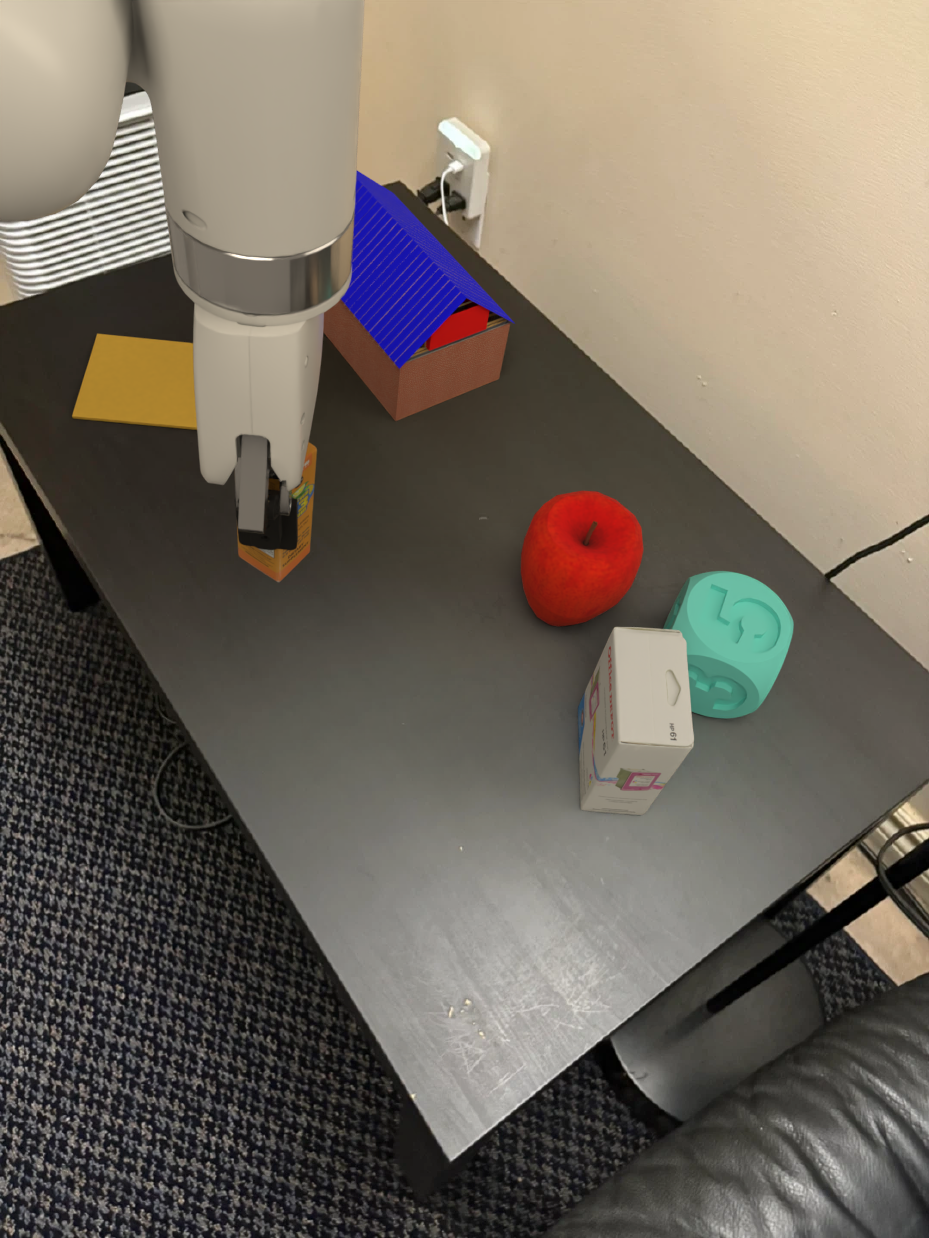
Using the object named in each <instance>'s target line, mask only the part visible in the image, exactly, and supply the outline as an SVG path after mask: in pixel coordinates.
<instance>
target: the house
mask: <svg viewBox="0 0 929 1238" xmlns="http://www.w3.org/2000/svg"><path fill="white" fill-rule="evenodd" d="M511 323H512V324H515V321H514V320H512V318H511V317H510V316H509V315H508V314H507V313H506V312H505V311H504V310H503V309H502V308H501V306H499V304H498V303H497V302H496V301H495V300H494V299H493V298H492V296H490V295H489V294H488V292H487V291H486V290H485V289H484V288H483V287H482V286H481V285H480V284H479V283H478V282H477V281H476V279H474V278H473V276H472V275H471V274H470V273H469V272H468V271H467V270H466V269H465V268H464V267H463V266H462V264H460V262H459V261H458V260H456V258H455V257H454V256H453V255H452V254H451V253H450V252H449V251H448V250H447V249H446V247H444V246H443V244H442V243H441V242H440V241H439V240H438V239H437V238H436V237H435V236H434V234H432V232H431V231H430V230H429V229H428V228H427V227H426V226H425V225H424V224H423V223H422V222H421V221H420V220H419V219H418V218H417V216H416V215H415V214H414V213H413V212H412V211H411V210H410V209H409V208H408V207H407V206H406V205H405V204H404V202H402V201H401V199H400V198H399V197H398V196H397V195H396V193H394V192H393V191H391V190H389V189H388V188H386V187H385V186H383V185H382V184H380V183H378V182H376V181H375V180H374V179H371V178H370V177H369V176H367V175H365V174H364V173H362V172H360V171H359V170H357V172H356V195H355V217H354V238H353V259H352V276H351V281H350V284H349V287H348V289H347V291H346V293H345V295H344V296H343V297H342V298H341V299H340V301H339V302H338V303H337V304H336V305H334V306H333V307H332V308H330V309H329V310H327V311H326V312H324V327H323V335H325V336H326V337H327V339H328V340H329V341H330V343H332V346H334V348H335V349H336V350H337V351H338V352H339V354H340V355H341V356H342V357H343V359H344V360H345V361H346V363H348V364H349V366H350V368H352V369H353V371H354V372H355V373H356V375H357V376H358V377H359V379H361V381H362V382H363V384H365V385H366V387H367V388H368V390H369V391H370V392H371V393H372V394H373V396H374V397H375V398H376V399H377V400H378V402H380V404H381V406H382V407H383V408H384V409H385V411H386V412H387V413H388V414H389V415H390V416H391V418H392V419H393V420H394V421H395V422H397V421H400V420H403V419H405V418H407V417H410V416H412V415H415V414H417V413H420V412H423V411H424V410H427V409H429V408H431V407H434V406H438V405H439V404H442V403H444V402H447V401H449V400H451V399H454V398H456V397H459V396H461V395H463V394H466V393H469V392H470V391H473V390H477V389H478V388H481V387H483V386H485V385H488V384H490V383H493V382H496V381H498V380H500V376H501V372H502V366H503V362H504V356H505V352H506V347H507V342H508V337H509V334H510V333H509V332H510V328H511Z"/></svg>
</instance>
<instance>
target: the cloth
mask: <svg viewBox="0 0 929 1238" xmlns="http://www.w3.org/2000/svg"><path fill="white" fill-rule="evenodd" d="M71 417H72V419H75V420H85V421H95V422H107V423H121V424H128V425H129V424H130V425H139V426H149V427H159V428H160V427H162V428H170V429H171V428H173V429H183V430H194V431H195V430H196V431H197V420H196V407H195V391H194V367H193V342H186V341H185V342H184V341H175V340H166V339H154V338H147V337H145V338H144V337H137V336H136V337H134V336H124V335H114V334H104V333H96V336H95V340H94V343H93V346H92V349H91V352H90V356H89V360H88V363H87V366H86V369H85V372H84V376H83V378H82V382H81V385H80V389H79V391H78V395H77V398H76V401H75V405H74V408H73V411H72V414H71Z"/></svg>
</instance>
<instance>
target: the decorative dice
mask: <svg viewBox="0 0 929 1238" xmlns="http://www.w3.org/2000/svg"><path fill="white" fill-rule="evenodd" d="M794 627H795V626H794V620H793V616H792V614H791V612H790V611H789V609H788V608H787V605H786V604H785V603H784V601H783V600H782V598H780V596H779V595H778V594H777V593H776V592H775V591H774V590H773V589H771V588H770V587H769V586H767V585H766V584H765V583H763V582H761V580H758V579H756V578H754V577H751V576H749V575H747V574H744V573H740V572H734V571H728V570H713V571H712V570H711V571H706V572H702V573H697V574H694V575H692V576H689V577H687V579H686V580H685V582H684V583H683V585H682V587H681V589H680V590H679V592H678V594H677V596H676V598H675V600H674V602H673V605H672V606H671V609H670V611H669V614H668V615H667V617H666V620H665V622H664V625H663V627H662V629H670V630H679V631H680V632H681V633H682V636H683V638H684V639H685V640H686V643H687V663H688V673H689V687H690V700H691V713H695V714H698V715H701V716H704V717H708V718H715V719H736V718H740V717H745V716H747V715H750V714H752V713H755V712H756V711H757V710H758V709H759V708H760V706H761V705H762V704H763V703H764V701H765V700H766V699H767V696H768V695H769V693H770V691H771V690H772V688H773V686H774V684H775V682H776V680H777V678H778V676H779V674H780V672H781V669H782V668H783V665H784V662H785V660H786V657H787V655H788V651H789V649H790V646H791V642H792V639H793V635H794Z"/></svg>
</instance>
